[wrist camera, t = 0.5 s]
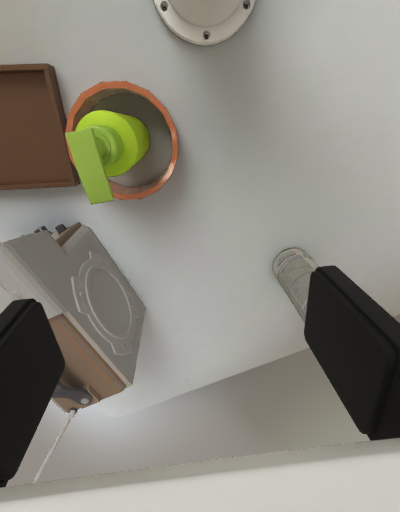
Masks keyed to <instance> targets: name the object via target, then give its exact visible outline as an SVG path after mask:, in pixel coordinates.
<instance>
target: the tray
mask: <svg viewBox="0 0 400 512" xmlns="http://www.w3.org/2000/svg"><path fill="white" fill-rule="evenodd" d="M66 126H67V123H66V119H65V114H64V110H63V106H62V101H61V97H60V92H59V88H58V83H57V79H56V75H55V70H54V67H53V66H51V65H49V64H17V65H0V190H13V189H31V188H49V187H68V186H76V185H78V184H80V181H79V176H78V172H77V169H76V168H75V166H74V164H73V163H72V161H71V160H70V156H69V152H68V147H67V143H66V139H65V132H66Z"/></svg>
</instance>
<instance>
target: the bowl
mask: <svg viewBox="0 0 400 512" xmlns="http://www.w3.org/2000/svg"><path fill="white" fill-rule="evenodd" d="M117 93H133V94H136V95H138V96H140V97H143V98H145V99H148V100H150V101H151V102H152V103H153V104H154V105H155V106H156V107H157V108H158V109H159V110H160V111H161V112H162V114H163V116H164V118H165V120H166V123H167V125H168V127H169V129H170V131H171V137H172V150H173V153H172V156H171V160H170V163H169V166H168V168H167V169H166V170H165V171H164V173H163V174H162V175H161V176H160V177H159V179H157V180H155V181H153V182H151V183H149V184H147V185H145V186H141V187H125V186H122V185H119V184H116V183H113V182H111V181H110V180H109V183H110V186H111V189H112V192H113V195H114V198H117V199H120V200H129V199H142V198H144V197H146V196H148V195H150V194H152V193H154V192H156V191H158V190H159V189H160V188H161V187H162V186H163V185H164V184H165V182H166V181H167V180H168V179H169V178H170V176H171V175H172V173H173V170H174V167H175V164H176V160H177V157H178V139H177V130H176V127H175V125H174V123H173V121H172V119H171V116H170V114H169V112H168V110H167V109H166V108H165V107H164V106H163V105H162V104H161V103H160V102H159V101H158V100H157V99H156V98H155V97H154V96H153V95H152V94H151V93H150V92H149V91H148V90H146V89H143V88H141V87H139V86H136V85H134V84H132V83H129V82H127V81H110V82H100V83H99V84H97V85H95V86H93V87H91V88H90V89H88V90H86V91H84V92H82V93H81V94H80V96H79V98H78V99H77V101H76V102H75V104H74V105H73V107H72V108H71V110H70V111H69V113H68V119H67V126H66V132H65V133H67V132H73V131H75V130H76V127H77V125H78V123H79V122H80V120H81V119H82V118H83V117H84V116H85V115H87V114H89V113H90V112H91V111H92V109H93V108H94V106H95V105H96V104H97V102H99V101H101V100H103V99H104V98H106V97H108V96H110V95H112V94H117ZM65 139H66V143H67V147H68V152H69V156H70V160H71V161H72V163H73V164H74V166H75V163H74V160H73V157H72V153H71V150H70V147H69V144H68V141H67V138H66V134H65ZM75 168H76V166H75Z"/></svg>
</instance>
